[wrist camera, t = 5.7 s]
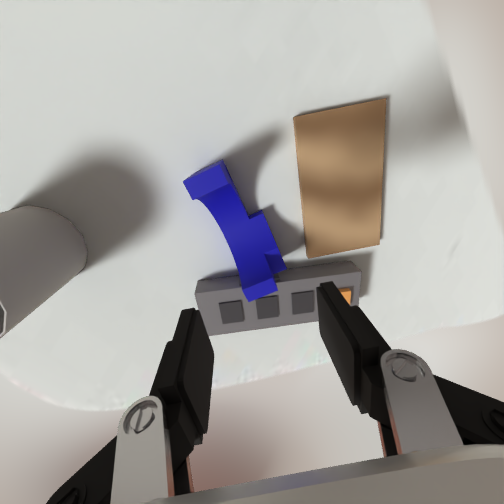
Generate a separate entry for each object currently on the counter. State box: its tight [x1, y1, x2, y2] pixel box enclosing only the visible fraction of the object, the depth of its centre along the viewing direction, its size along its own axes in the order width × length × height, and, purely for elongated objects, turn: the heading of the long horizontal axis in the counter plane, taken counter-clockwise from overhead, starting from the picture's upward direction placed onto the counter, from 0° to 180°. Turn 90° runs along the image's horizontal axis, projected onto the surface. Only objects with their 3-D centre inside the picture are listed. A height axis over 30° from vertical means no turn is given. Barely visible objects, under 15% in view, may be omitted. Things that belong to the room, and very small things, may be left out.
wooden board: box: [293, 98, 386, 259], centre depth 24 cm, size 14×8×1 cm, turn 10°
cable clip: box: [183, 160, 287, 302], centre depth 22 cm, size 12×4×6 cm, turn 24°
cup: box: [0, 205, 88, 338], centre depth 20 cm, size 8×8×10 cm
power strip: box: [195, 261, 362, 336], centre depth 28 cm, size 18×6×4 cm, turn 96°
